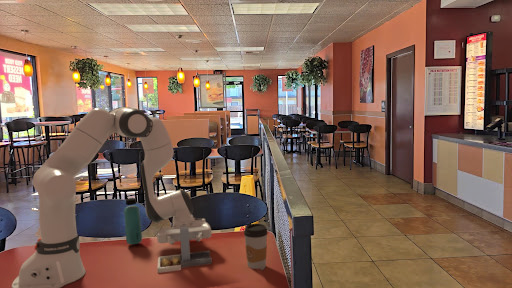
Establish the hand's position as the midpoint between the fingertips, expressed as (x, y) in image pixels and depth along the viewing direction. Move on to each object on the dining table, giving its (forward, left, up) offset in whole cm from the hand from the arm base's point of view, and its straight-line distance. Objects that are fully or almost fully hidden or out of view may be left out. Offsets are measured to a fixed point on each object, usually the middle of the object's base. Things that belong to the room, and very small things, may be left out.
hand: (185, 241), depth 141 cm
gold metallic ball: (-8, 0, -9) cm, 12 cm away
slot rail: (+3, 0, -9) cm, 10 cm away
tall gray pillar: (0, 0, -8) cm, 8 cm away
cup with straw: (-53, +23, -9) cm, 58 cm away
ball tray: (-6, -1, -9) cm, 11 cm away
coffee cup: (+24, -9, -9) cm, 28 cm away
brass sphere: (-5, 0, -8) cm, 10 cm away
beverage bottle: (-21, +26, -9) cm, 34 cm away
